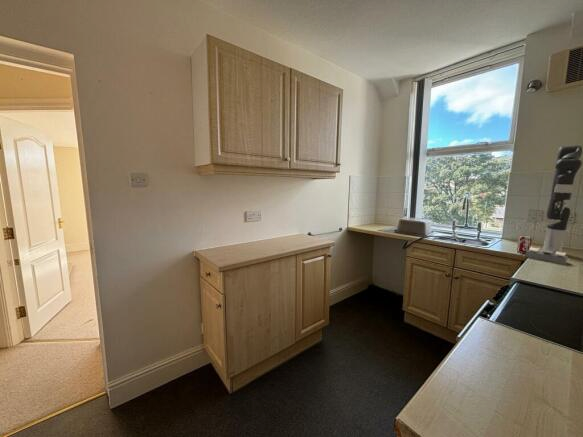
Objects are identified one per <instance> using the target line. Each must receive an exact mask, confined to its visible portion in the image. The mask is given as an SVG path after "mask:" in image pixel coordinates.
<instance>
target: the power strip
mask: <svg viewBox="0 0 583 437" xmlns="http://www.w3.org/2000/svg"><path fill="white" fill-rule="evenodd" d="M525 258H528V259H533V260H538V261H545V262H549V263H553V264H558V265H559V264H560V265H563V266H564V265H566V264H567V263H568V258H569V256H568V255H565V256H558V255H555V254H553V253H548V252H543V251H539V250H538V252H533V251H529V250H527V251H526V254H525Z"/></svg>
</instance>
